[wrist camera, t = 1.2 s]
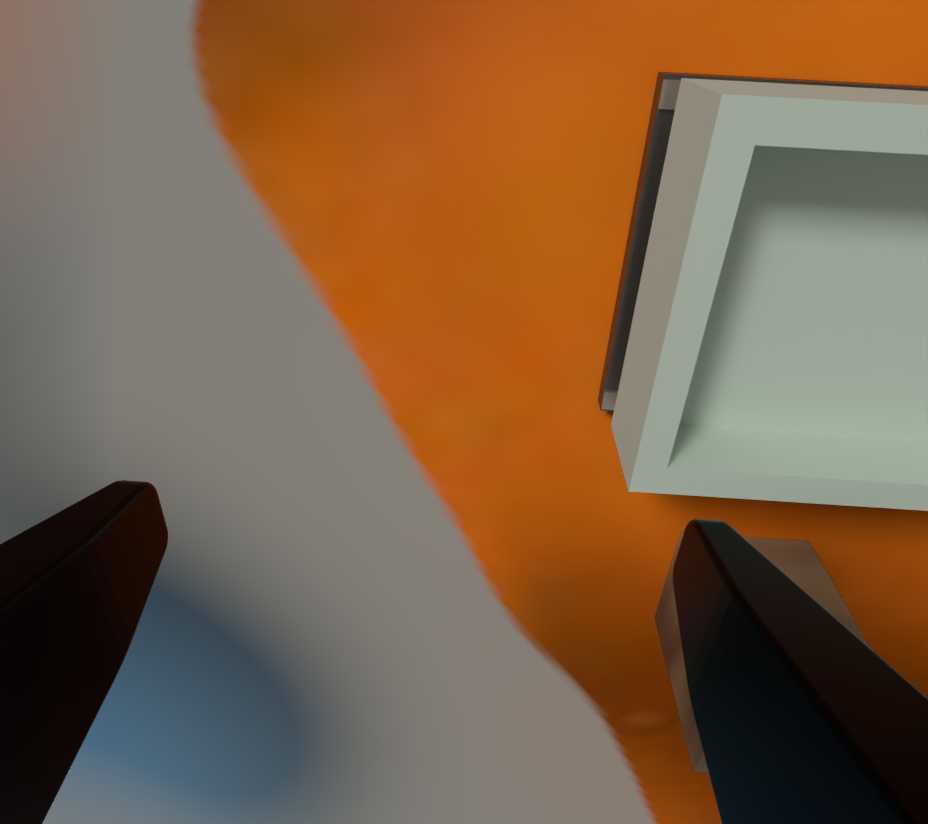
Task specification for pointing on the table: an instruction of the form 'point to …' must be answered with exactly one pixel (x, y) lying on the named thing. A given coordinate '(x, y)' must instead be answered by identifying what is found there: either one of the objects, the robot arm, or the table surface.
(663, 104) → the track
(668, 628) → the walnut block
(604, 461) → the table surface
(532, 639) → the table surface
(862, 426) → the pale green tray
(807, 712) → the robot arm
